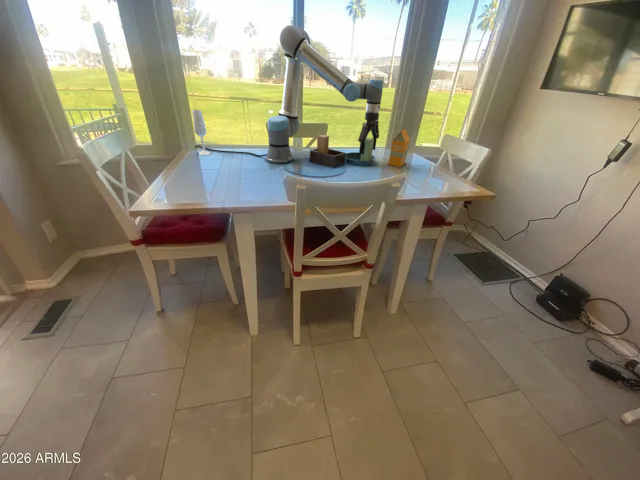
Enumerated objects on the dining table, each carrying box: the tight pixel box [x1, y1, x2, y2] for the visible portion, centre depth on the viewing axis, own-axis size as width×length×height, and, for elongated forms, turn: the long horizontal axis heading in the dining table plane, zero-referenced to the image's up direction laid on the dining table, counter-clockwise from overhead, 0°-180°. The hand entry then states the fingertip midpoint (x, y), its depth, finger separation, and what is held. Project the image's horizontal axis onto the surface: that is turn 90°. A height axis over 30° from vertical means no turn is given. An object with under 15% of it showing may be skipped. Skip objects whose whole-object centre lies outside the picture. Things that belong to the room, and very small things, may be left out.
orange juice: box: [387, 129, 411, 168], centre depth 160 cm, size 8×9×20 cm
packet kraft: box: [316, 134, 330, 154], centre depth 160 cm, size 5×4×14 cm
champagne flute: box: [191, 109, 211, 156], centre depth 159 cm, size 7×7×24 cm
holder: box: [309, 147, 347, 169], centre depth 161 cm, size 18×12×7 cm, turn 52°
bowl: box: [344, 151, 376, 167], centre depth 165 cm, size 19×19×4 cm
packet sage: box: [360, 137, 374, 161], centre depth 160 cm, size 5×4×14 cm
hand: (367, 151), depth 160 cm, fingers open, 13 cm apart
